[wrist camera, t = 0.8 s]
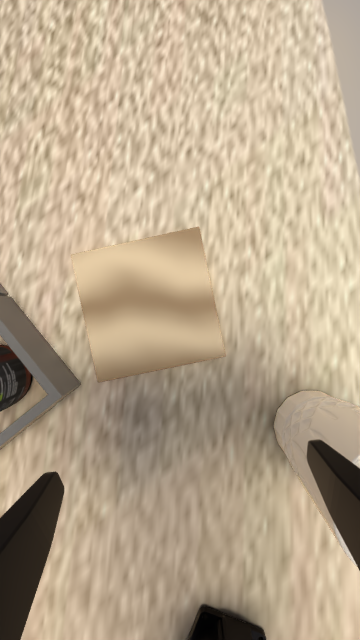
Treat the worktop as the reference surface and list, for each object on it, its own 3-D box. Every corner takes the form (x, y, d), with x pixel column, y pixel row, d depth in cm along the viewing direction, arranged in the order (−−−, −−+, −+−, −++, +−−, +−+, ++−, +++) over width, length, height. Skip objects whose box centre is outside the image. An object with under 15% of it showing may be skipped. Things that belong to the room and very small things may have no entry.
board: (224, 355, 22) (225, 356, 22) (100, 380, 23) (97, 382, 22) (198, 229, 22) (199, 226, 22) (73, 256, 23) (70, 254, 22)
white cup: (289, 480, 22) (373, 612, 12) (252, 405, 22) (307, 476, 12) (366, 445, 22) (514, 549, 12) (329, 368, 22) (447, 411, 12)
